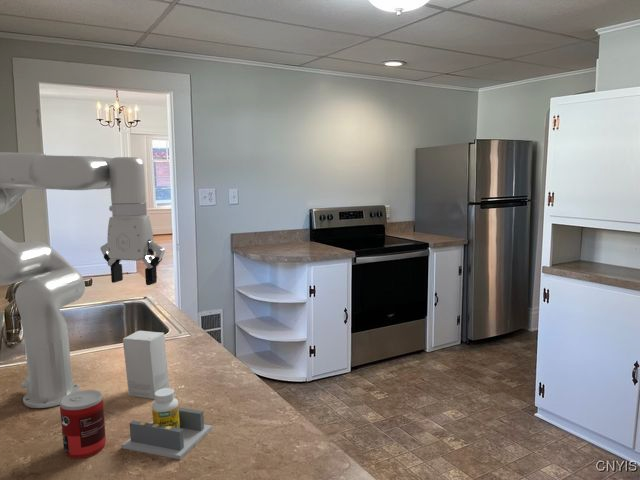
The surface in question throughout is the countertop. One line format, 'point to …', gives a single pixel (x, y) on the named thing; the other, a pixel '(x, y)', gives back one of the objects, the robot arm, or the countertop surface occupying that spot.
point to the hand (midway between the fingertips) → (134, 282)
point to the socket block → (168, 435)
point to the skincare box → (145, 363)
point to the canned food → (83, 423)
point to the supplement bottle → (166, 408)
